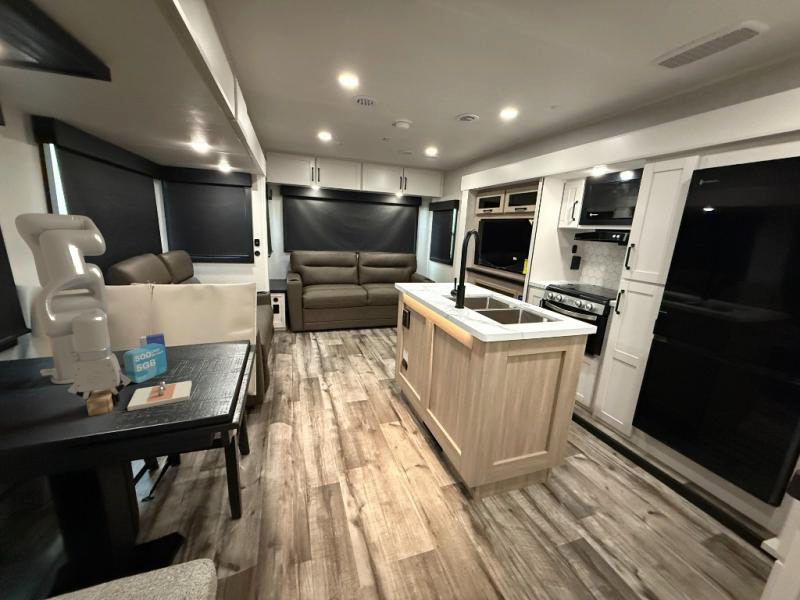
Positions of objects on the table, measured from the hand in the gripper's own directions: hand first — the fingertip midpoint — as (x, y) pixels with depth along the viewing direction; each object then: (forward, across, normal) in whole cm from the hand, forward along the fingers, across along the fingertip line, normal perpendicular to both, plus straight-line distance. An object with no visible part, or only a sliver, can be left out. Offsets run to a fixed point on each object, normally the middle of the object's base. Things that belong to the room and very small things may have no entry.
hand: (104, 405), depth 98 cm
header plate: (0, +15, 0) cm, 15 cm away
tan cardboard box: (0, 0, 0) cm, 0 cm away
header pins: (-1, +15, 0) cm, 15 cm away
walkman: (+1, +8, +34) cm, 35 cm away
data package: (+1, +8, +19) cm, 21 cm away
